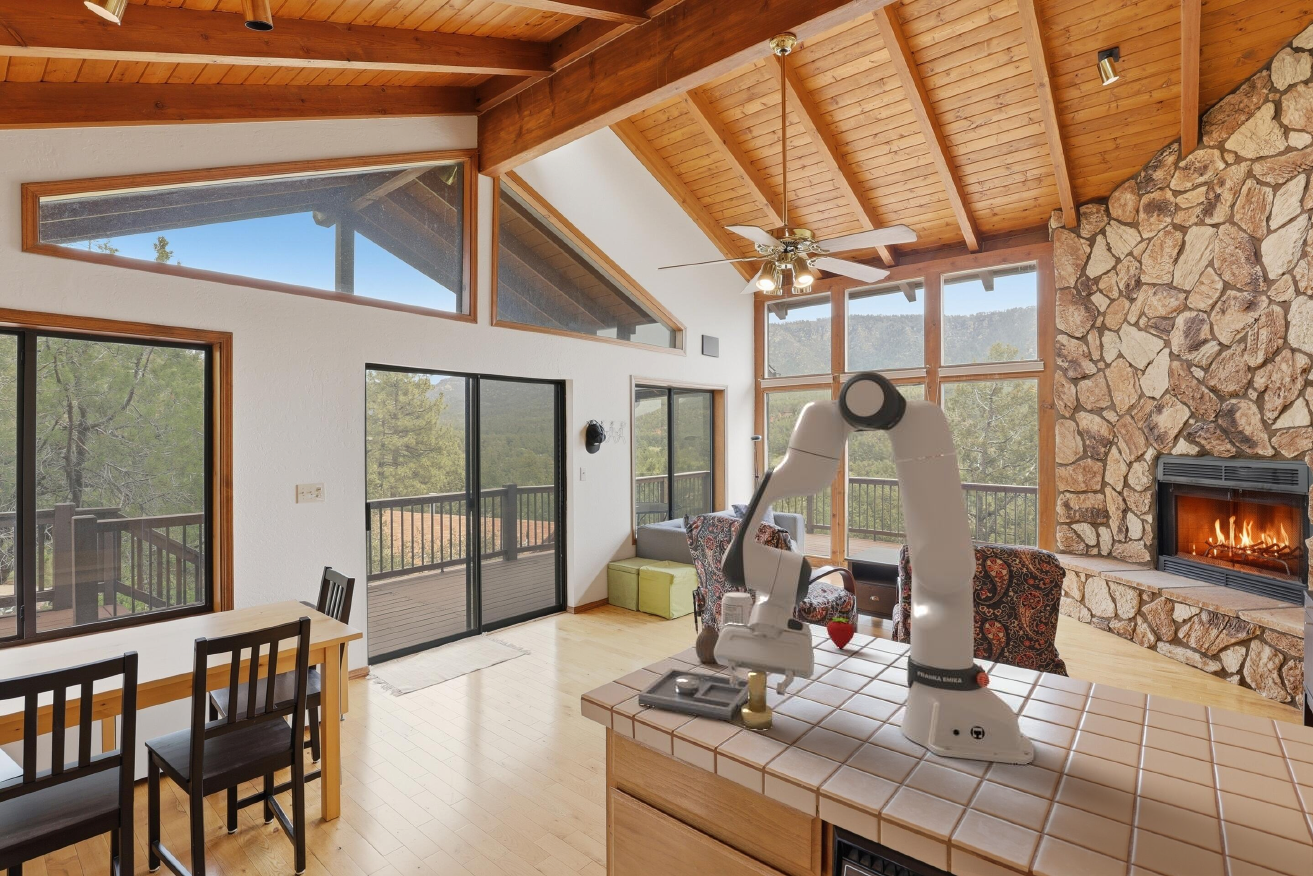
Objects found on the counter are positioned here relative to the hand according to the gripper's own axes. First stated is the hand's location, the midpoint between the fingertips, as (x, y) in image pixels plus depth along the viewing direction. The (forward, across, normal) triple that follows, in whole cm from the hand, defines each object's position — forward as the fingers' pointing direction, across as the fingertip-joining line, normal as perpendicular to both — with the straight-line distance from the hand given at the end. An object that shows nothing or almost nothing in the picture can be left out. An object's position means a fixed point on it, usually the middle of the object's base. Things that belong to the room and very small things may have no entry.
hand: (756, 689), depth 130 cm
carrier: (0, -15, +10) cm, 18 cm away
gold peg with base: (+5, 0, +4) cm, 7 cm away
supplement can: (-26, -17, +36) cm, 47 cm away
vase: (-18, -21, +28) cm, 39 cm away
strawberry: (-36, +8, +45) cm, 58 cm away
